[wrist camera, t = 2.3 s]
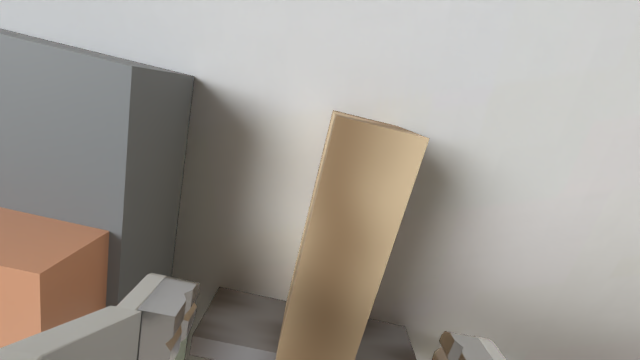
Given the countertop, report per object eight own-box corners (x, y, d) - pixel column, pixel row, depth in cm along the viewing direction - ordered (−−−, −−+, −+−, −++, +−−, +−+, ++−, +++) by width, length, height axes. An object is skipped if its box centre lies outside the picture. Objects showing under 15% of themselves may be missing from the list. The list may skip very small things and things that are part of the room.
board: (194, 76, 15) (132, 66, 10) (168, 304, 19) (113, 375, 14) (-50, 16, 14) (-237, -25, 10) (-27, 263, 18) (-154, 323, 13)
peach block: (109, 231, 12) (39, 274, 9) (104, 330, 13) (42, 396, 10) (-19, 203, 12) (-132, 237, 9) (-10, 307, 13) (-107, 367, 10)
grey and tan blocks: (473, 144, 16) (538, 165, 11) (399, 340, 19) (423, 420, 14) (253, 90, 15) (219, 87, 10) (217, 302, 19) (180, 372, 14)
